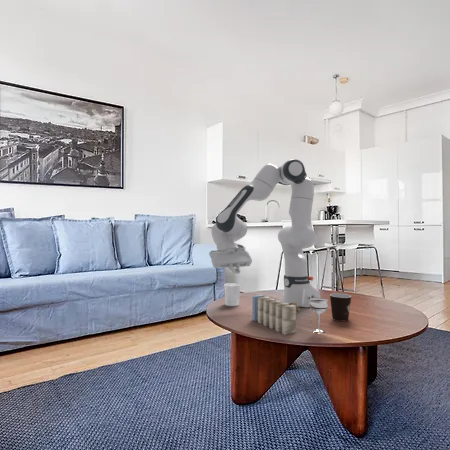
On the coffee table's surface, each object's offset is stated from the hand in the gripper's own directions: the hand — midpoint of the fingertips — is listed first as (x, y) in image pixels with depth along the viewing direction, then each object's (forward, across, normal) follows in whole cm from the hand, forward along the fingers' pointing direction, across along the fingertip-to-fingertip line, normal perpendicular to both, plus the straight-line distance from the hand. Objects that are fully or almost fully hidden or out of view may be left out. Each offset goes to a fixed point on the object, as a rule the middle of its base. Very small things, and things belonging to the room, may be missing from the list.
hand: (237, 273), depth 161 cm
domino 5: (+36, 0, -12) cm, 38 cm away
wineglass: (+41, +12, -17) cm, 46 cm away
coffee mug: (+35, +33, -11) cm, 50 cm away
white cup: (+5, +3, +19) cm, 20 cm away
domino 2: (+28, 0, -3) cm, 28 cm away
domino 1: (+25, 0, 0) cm, 25 cm away
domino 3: (+30, 0, -6) cm, 31 cm away
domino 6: (+39, 0, -15) cm, 42 cm away
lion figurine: (+31, +10, -6) cm, 33 cm away
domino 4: (+33, 0, -9) cm, 34 cm away
